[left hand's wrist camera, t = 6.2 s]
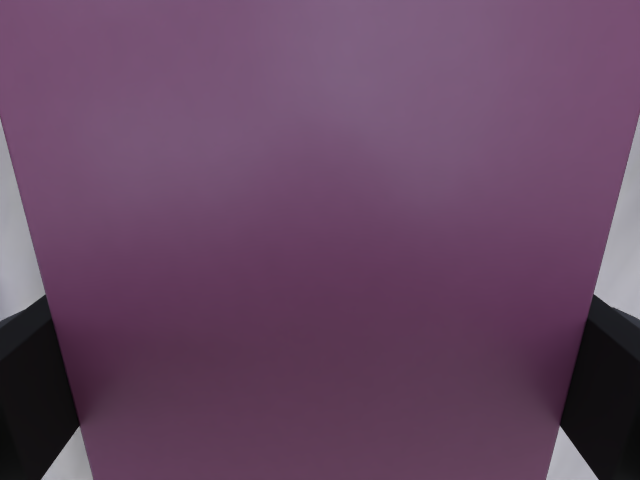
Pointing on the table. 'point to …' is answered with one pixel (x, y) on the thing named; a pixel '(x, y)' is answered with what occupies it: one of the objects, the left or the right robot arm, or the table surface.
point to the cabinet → (319, 225)
